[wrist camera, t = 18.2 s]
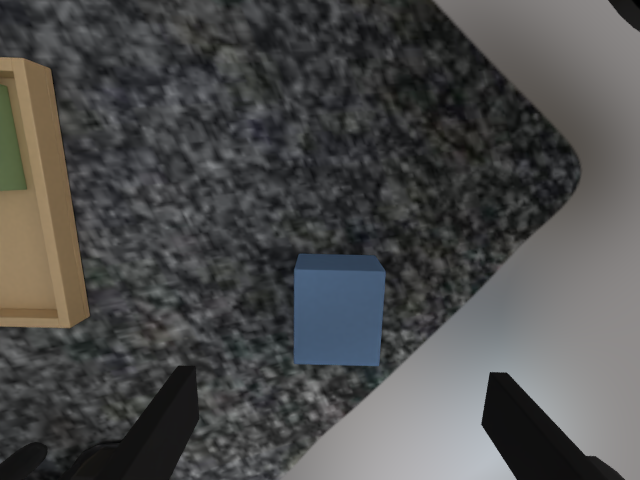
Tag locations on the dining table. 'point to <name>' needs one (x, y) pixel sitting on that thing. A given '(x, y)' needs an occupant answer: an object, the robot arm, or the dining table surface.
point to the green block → (9, 148)
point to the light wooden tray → (38, 212)
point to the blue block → (338, 309)
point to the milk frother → (20, 464)
